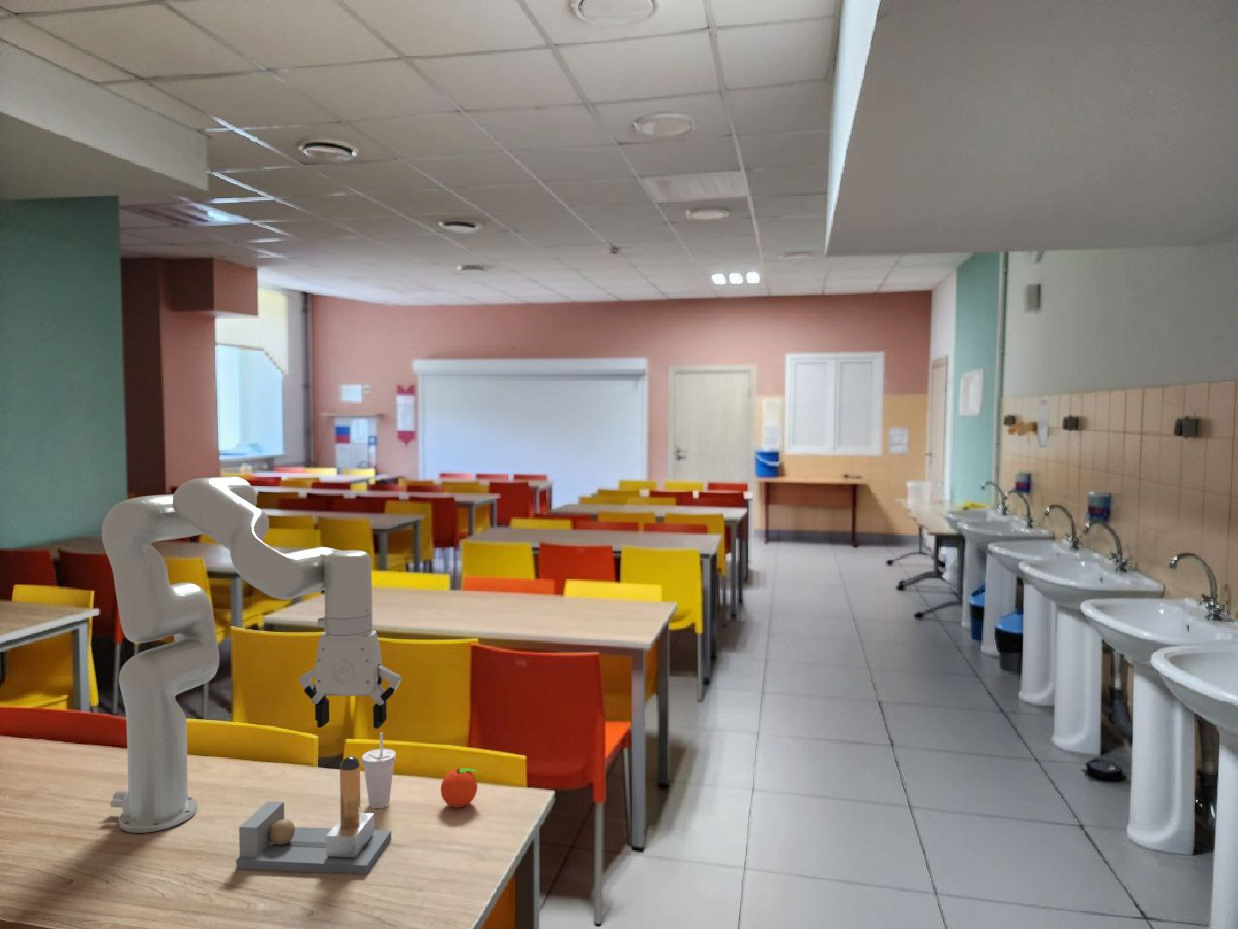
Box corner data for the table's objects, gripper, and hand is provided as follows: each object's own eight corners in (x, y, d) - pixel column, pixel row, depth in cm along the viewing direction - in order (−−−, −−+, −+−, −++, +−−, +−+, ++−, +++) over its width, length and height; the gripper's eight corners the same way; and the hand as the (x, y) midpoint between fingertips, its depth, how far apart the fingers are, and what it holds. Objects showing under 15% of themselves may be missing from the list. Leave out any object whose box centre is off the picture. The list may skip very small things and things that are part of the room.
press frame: (236, 868, 127) (235, 830, 127) (270, 834, 138) (270, 798, 138) (366, 874, 126) (366, 835, 126) (391, 839, 137) (390, 803, 137)
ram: (326, 856, 128) (325, 766, 127) (346, 831, 136) (345, 747, 135) (355, 857, 127) (354, 767, 127) (374, 832, 135) (373, 748, 135)
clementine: (477, 793, 155) (477, 758, 154) (487, 808, 148) (486, 772, 148) (437, 801, 151) (437, 765, 151) (445, 817, 145) (445, 780, 145)
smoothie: (386, 814, 146) (385, 740, 145) (355, 810, 147) (354, 738, 147) (402, 798, 152) (401, 728, 152) (372, 795, 154) (371, 725, 153)
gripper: (288, 630, 127) (290, 733, 128) (391, 631, 126) (393, 735, 126) (309, 619, 134) (311, 716, 135) (407, 620, 133) (408, 718, 134)
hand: (351, 725), depth 131 cm, fingers open, 9 cm apart
